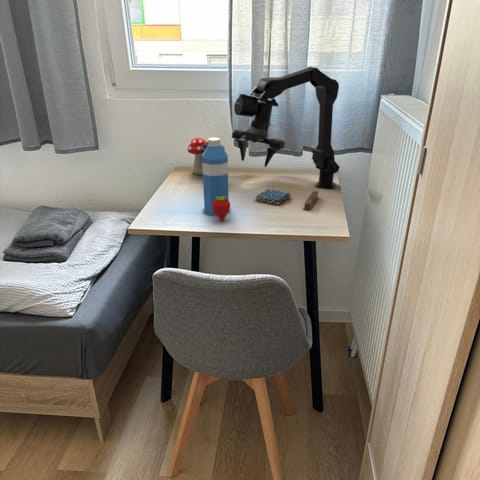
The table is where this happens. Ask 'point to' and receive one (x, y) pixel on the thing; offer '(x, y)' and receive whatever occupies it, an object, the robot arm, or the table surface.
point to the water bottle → (214, 173)
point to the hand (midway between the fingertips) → (253, 163)
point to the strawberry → (221, 207)
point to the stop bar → (311, 200)
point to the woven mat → (273, 196)
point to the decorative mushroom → (197, 154)
